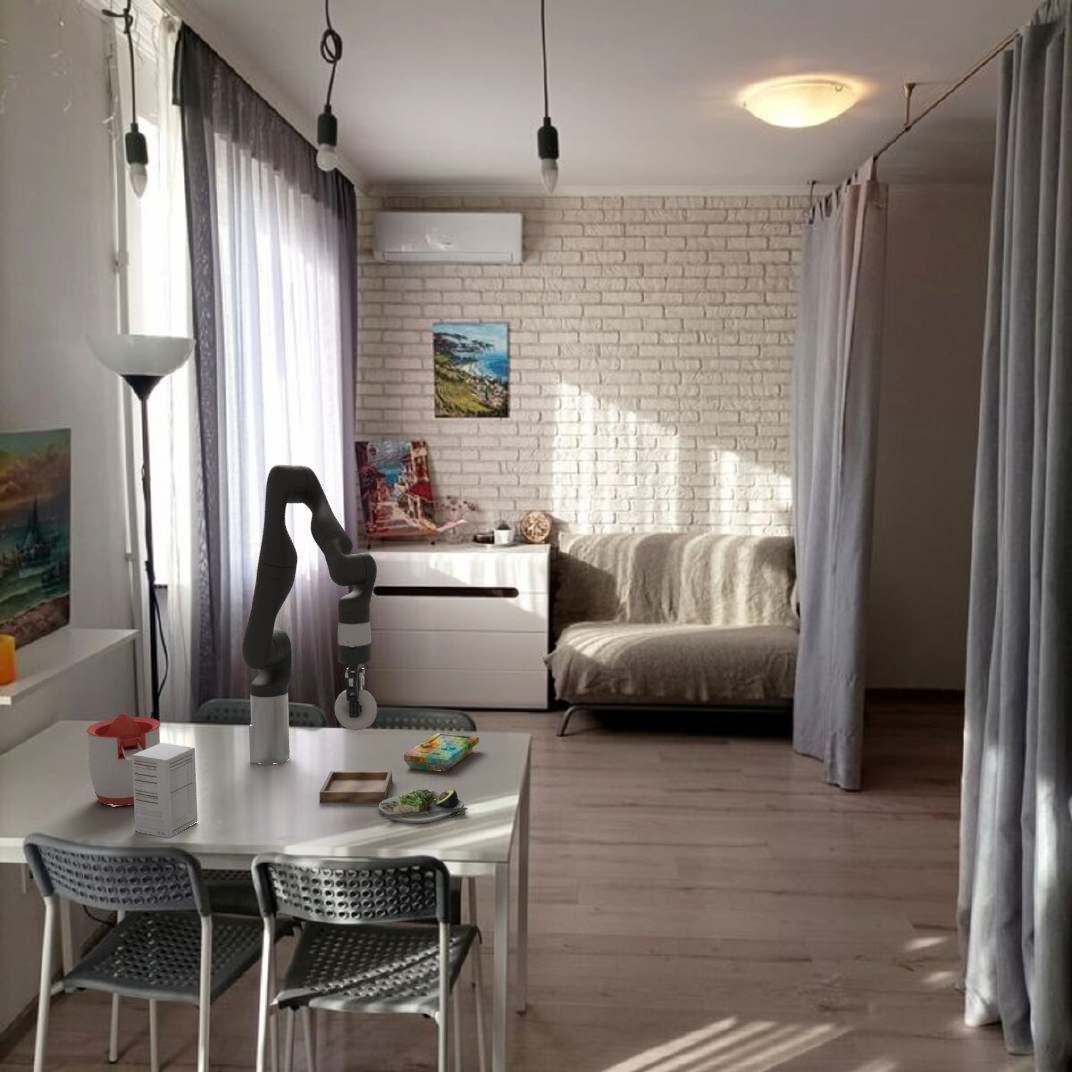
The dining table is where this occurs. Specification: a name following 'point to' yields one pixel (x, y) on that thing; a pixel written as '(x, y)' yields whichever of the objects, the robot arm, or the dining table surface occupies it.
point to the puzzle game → (440, 751)
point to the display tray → (356, 787)
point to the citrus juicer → (118, 755)
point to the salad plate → (422, 806)
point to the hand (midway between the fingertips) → (355, 714)
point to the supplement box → (164, 789)
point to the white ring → (364, 719)
